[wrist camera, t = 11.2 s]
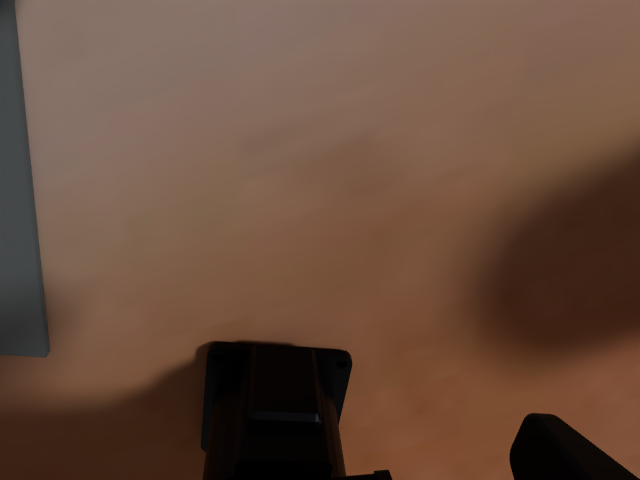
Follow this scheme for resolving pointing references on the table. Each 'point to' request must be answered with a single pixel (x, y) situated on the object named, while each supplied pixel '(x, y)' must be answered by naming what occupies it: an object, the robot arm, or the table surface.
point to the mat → (17, 211)
